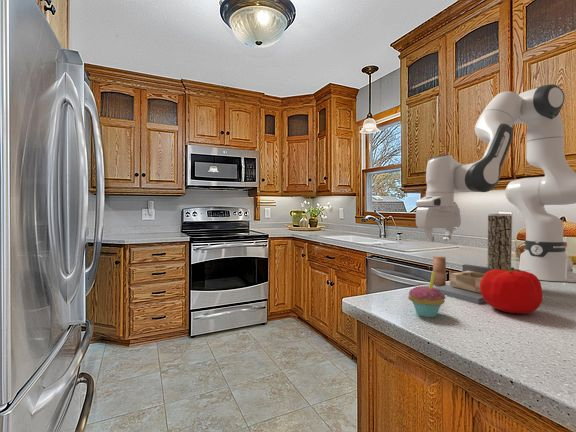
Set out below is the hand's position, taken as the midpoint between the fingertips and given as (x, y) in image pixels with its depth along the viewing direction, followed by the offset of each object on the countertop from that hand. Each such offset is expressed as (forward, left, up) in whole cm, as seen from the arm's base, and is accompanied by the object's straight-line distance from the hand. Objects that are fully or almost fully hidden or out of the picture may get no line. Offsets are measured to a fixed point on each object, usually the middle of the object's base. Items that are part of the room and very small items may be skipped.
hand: (439, 240), depth 108 cm
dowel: (0, 0, -16) cm, 16 cm away
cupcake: (+30, +17, -16) cm, 38 cm away
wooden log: (-17, +11, -16) cm, 26 cm away
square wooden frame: (-1, +12, -14) cm, 18 cm away
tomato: (+9, +26, -16) cm, 32 cm away
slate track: (+1, +12, -16) cm, 20 cm away
